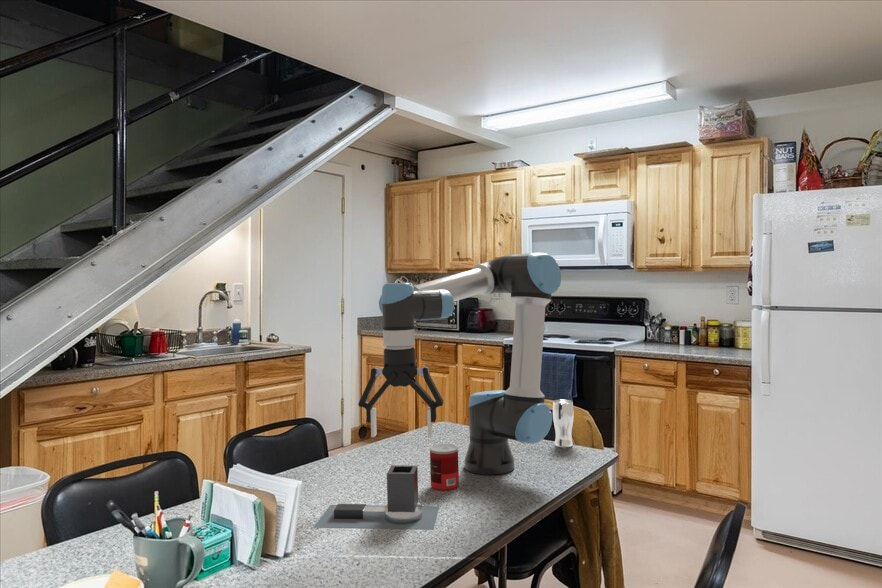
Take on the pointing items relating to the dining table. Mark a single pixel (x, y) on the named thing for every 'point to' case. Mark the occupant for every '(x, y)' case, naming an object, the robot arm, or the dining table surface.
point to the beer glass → (563, 422)
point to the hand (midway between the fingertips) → (402, 435)
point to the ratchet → (376, 513)
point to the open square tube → (402, 488)
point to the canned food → (444, 467)
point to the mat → (378, 521)
